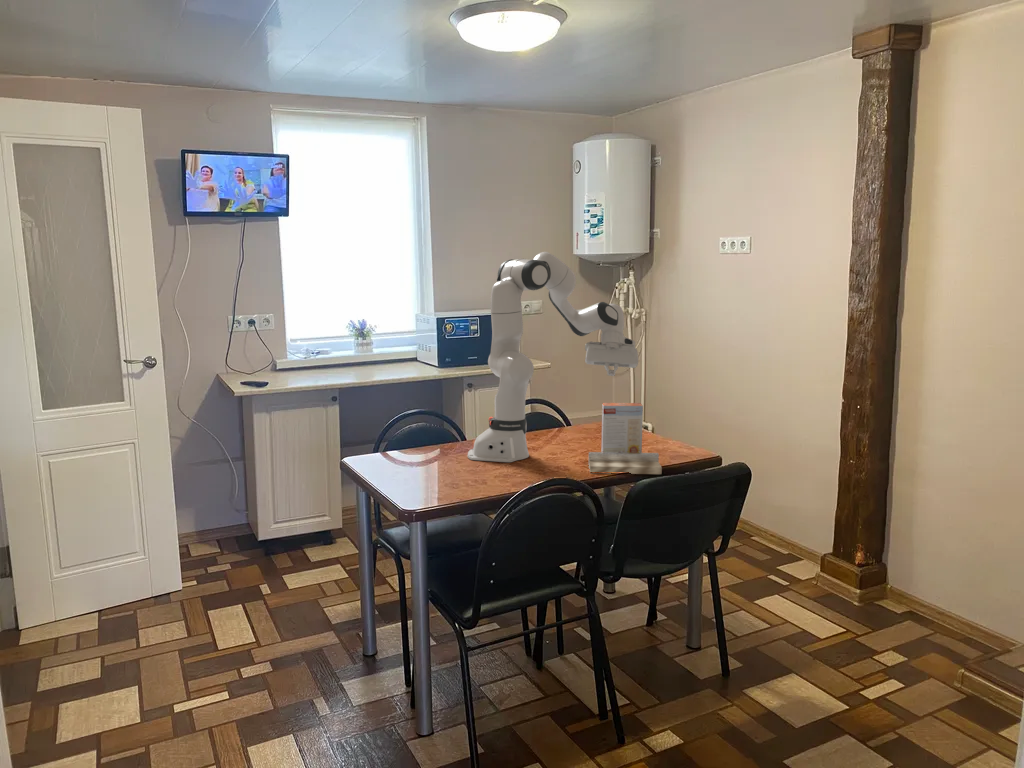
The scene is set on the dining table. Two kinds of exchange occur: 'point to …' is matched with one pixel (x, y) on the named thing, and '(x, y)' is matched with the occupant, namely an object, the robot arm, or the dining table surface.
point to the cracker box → (622, 427)
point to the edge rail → (623, 456)
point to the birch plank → (626, 467)
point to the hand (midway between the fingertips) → (611, 375)
